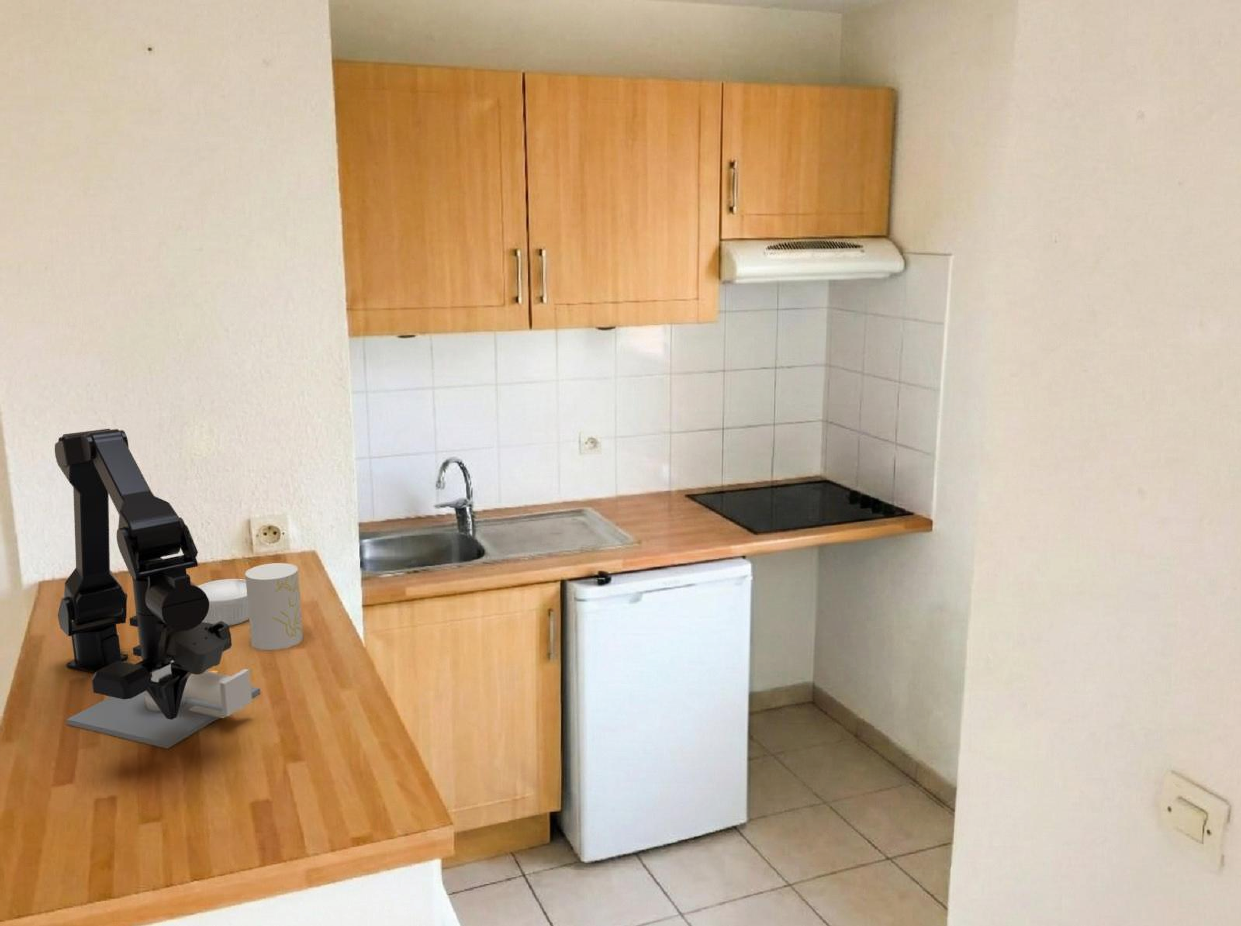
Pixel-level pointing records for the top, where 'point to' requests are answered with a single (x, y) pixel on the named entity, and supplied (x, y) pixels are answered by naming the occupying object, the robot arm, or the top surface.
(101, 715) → the grey square panel
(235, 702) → the elbow
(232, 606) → the ramekin
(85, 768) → the top surface
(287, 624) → the cup
